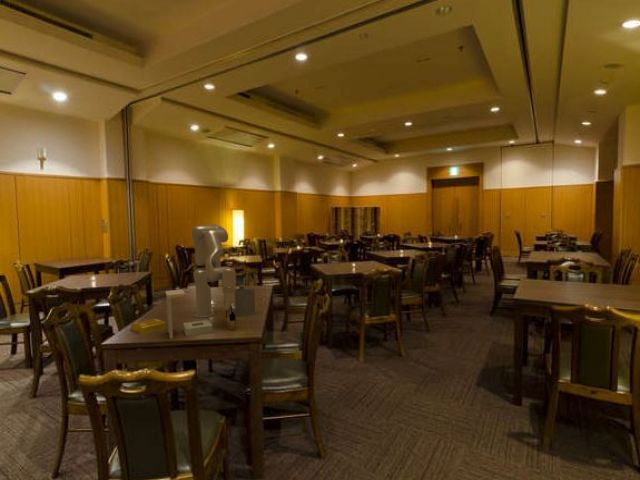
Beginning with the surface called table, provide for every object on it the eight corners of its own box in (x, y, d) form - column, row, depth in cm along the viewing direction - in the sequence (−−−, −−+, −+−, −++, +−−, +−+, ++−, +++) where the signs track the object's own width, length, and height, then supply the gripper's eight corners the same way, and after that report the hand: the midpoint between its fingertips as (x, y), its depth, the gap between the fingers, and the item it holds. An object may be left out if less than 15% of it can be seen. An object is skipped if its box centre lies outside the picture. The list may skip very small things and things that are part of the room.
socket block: (167, 332, 216) (165, 291, 215) (208, 326, 226) (206, 287, 225) (169, 339, 204) (167, 295, 202) (212, 332, 213) (210, 290, 212)
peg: (226, 327, 223) (225, 307, 222) (233, 326, 224) (232, 306, 224) (228, 329, 219) (227, 308, 218) (235, 328, 221) (234, 307, 220)
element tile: (166, 329, 224) (166, 321, 224) (141, 335, 213) (140, 327, 213) (155, 324, 234) (154, 317, 234) (129, 330, 223) (129, 322, 223)
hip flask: (254, 314, 253) (253, 284, 252) (255, 315, 249) (254, 285, 248) (230, 316, 249) (228, 285, 248) (230, 317, 245) (228, 286, 244)
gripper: (219, 288, 227) (221, 316, 227) (225, 292, 211) (227, 323, 212) (232, 286, 230) (233, 314, 231) (239, 291, 214) (240, 321, 215)
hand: (230, 318), depth 221 cm, fingers open, 9 cm apart
